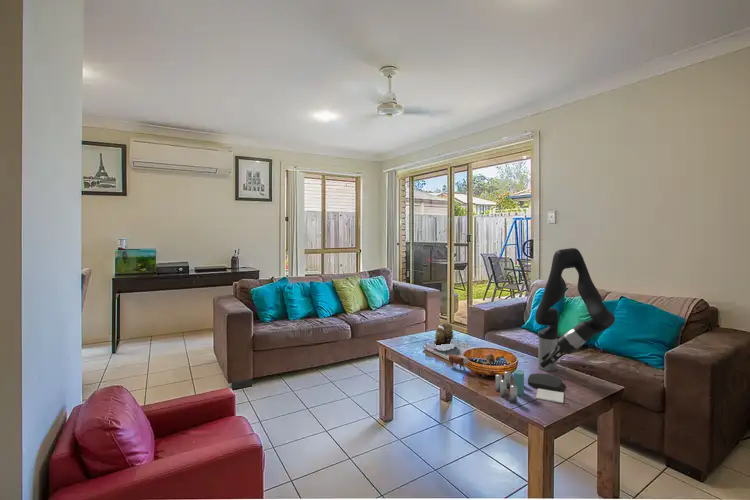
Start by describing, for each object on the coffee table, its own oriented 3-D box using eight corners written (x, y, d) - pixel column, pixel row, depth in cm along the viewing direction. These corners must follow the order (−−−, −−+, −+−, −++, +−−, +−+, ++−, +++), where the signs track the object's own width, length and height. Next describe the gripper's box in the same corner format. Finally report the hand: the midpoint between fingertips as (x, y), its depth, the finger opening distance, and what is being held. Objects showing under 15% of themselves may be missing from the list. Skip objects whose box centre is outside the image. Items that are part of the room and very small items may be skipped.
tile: (537, 389, 177) (537, 388, 177) (563, 393, 172) (563, 392, 172) (535, 398, 167) (535, 397, 167) (563, 403, 162) (563, 402, 162)
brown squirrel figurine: (444, 342, 254) (444, 318, 253) (459, 346, 246) (459, 321, 245) (428, 348, 241) (428, 322, 240) (444, 352, 233) (444, 326, 232)
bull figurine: (466, 373, 198) (466, 358, 197) (447, 366, 208) (447, 352, 208) (471, 371, 200) (471, 357, 200) (452, 365, 211) (452, 350, 211)
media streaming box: (559, 393, 173) (559, 387, 173) (526, 386, 181) (526, 380, 181) (562, 382, 186) (563, 376, 186) (531, 376, 193) (531, 371, 193)
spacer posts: (499, 380, 188) (499, 366, 188) (522, 384, 183) (522, 370, 183) (490, 398, 168) (490, 383, 168) (516, 403, 163) (516, 388, 162)
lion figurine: (486, 368, 206) (486, 352, 205) (496, 369, 203) (496, 353, 202) (478, 377, 193) (478, 360, 193) (489, 379, 190) (489, 361, 190)
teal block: (514, 390, 176) (514, 370, 175) (523, 392, 174) (524, 371, 173) (513, 394, 172) (513, 373, 172) (523, 395, 170) (523, 374, 170)
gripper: (564, 330, 169) (537, 351, 175) (564, 338, 157) (534, 361, 163) (577, 343, 167) (549, 364, 173) (578, 352, 154) (547, 375, 160)
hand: (542, 362), depth 168 cm, fingers open, 8 cm apart
